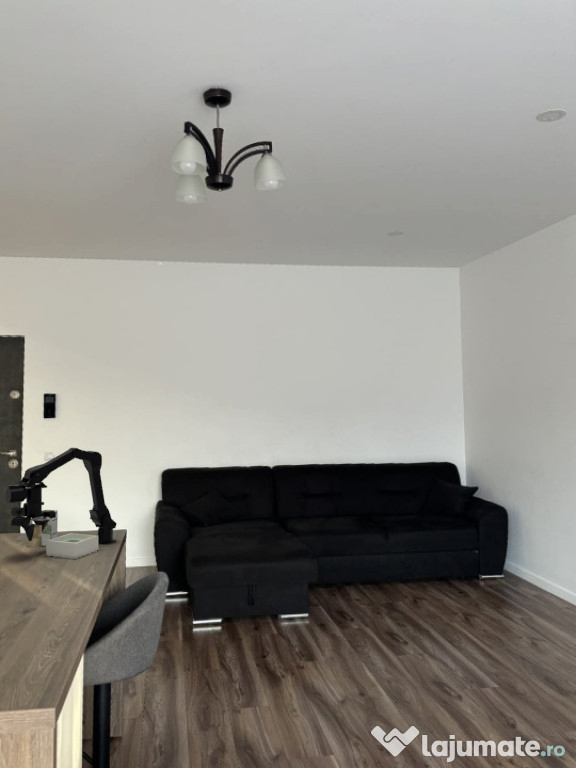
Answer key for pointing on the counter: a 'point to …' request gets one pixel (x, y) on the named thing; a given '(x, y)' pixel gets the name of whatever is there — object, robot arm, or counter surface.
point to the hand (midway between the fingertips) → (34, 539)
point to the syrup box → (50, 529)
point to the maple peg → (35, 537)
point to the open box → (72, 545)
